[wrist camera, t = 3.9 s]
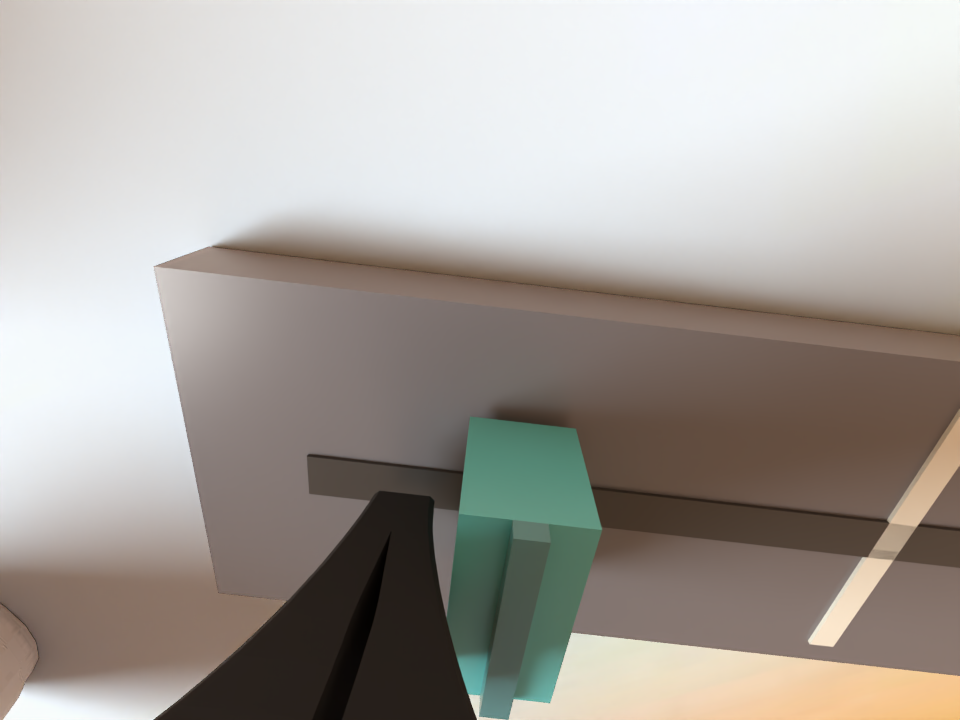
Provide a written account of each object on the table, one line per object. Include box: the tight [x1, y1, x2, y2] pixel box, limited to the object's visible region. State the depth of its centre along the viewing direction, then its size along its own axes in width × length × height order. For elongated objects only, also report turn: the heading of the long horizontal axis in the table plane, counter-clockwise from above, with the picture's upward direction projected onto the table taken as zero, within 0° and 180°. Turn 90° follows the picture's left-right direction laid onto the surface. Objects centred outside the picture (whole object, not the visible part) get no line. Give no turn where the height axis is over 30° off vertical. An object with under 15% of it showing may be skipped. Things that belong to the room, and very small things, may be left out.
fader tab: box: [446, 416, 602, 720], centre depth 10 cm, size 5×2×3 cm, turn 174°
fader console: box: [154, 247, 960, 676], centre depth 13 cm, size 10×24×2 cm, turn 84°
